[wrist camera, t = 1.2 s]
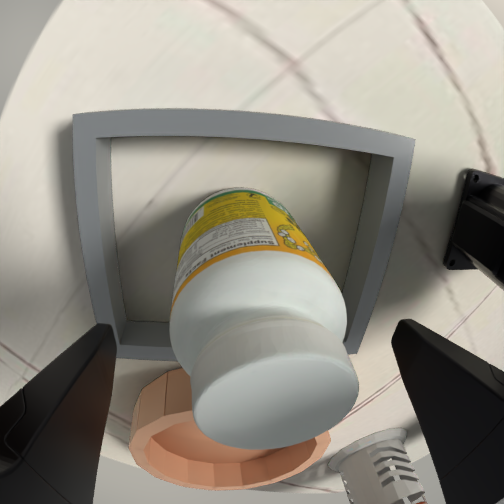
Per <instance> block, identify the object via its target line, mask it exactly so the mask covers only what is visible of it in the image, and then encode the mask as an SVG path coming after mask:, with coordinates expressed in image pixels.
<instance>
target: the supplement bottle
mask: <svg viewBox="0 0 504 504" xmlns="http://www.w3.org/2000/svg"><path fill="white" fill-rule="evenodd" d="M346 326H347V313H346V306H345V302H344V299H343V296H342V294H341V291H340V289H339V288H338V286H337V284H336V282H335V281H334V279H333V278H332V276H331V274H330V273H329V271H328V270H327V268H326V267H325V265H324V264H323V262H322V261H321V259H320V258H319V256H318V255H317V253H316V252H315V250H314V249H313V247H312V246H311V244H310V243H309V241H308V240H307V238H306V237H305V235H304V234H303V232H302V231H301V230H300V228H299V227H298V225H297V224H296V222H295V221H294V219H293V218H292V216H291V215H290V213H289V212H288V211H287V210H286V209H285V207H284V206H283V205H282V204H280V203H279V202H278V201H277V200H275V199H274V198H272V197H271V196H269V195H268V194H266V193H264V192H262V191H259V190H256V189H252V188H244V187H240V188H230V189H226V190H223V191H220V192H217V193H215V194H213V195H211V196H209V197H208V198H206V199H205V200H203V201H202V202H201V203H200V204H199V205H198V206H197V207H196V208H195V209H194V210H193V212H192V213H191V215H190V216H189V218H188V220H187V222H186V224H185V227H184V230H183V234H182V239H181V244H180V249H179V257H178V264H177V271H176V277H175V283H174V290H173V298H172V306H171V313H170V329H169V331H170V341H171V345H172V348H173V351H174V354H175V356H176V358H177V360H178V362H179V363H180V365H181V366H182V368H183V369H184V370H185V371H186V372H187V374H188V375H189V376H190V384H191V389H192V412H193V418H194V421H195V423H196V425H197V426H198V428H199V429H200V430H201V432H202V433H203V434H204V435H206V436H207V437H209V438H210V439H212V440H214V441H216V442H218V443H220V444H223V445H226V446H230V447H235V448H240V449H248V450H264V449H275V448H282V447H287V446H291V445H295V444H298V443H301V442H304V441H307V440H309V439H312V438H314V437H316V436H318V435H320V434H322V433H324V432H326V431H327V430H329V429H331V428H332V427H334V426H335V425H336V424H337V423H339V422H340V421H341V420H342V419H343V418H344V417H345V416H346V415H347V414H348V413H349V411H350V410H351V409H352V407H353V405H354V404H355V402H356V399H357V397H358V392H359V382H358V378H357V375H356V372H355V370H354V367H353V365H352V363H351V360H350V358H349V356H348V354H347V351H346V349H345V346H344V345H343V343H342V342H343V339H344V336H345V332H346Z"/></svg>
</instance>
